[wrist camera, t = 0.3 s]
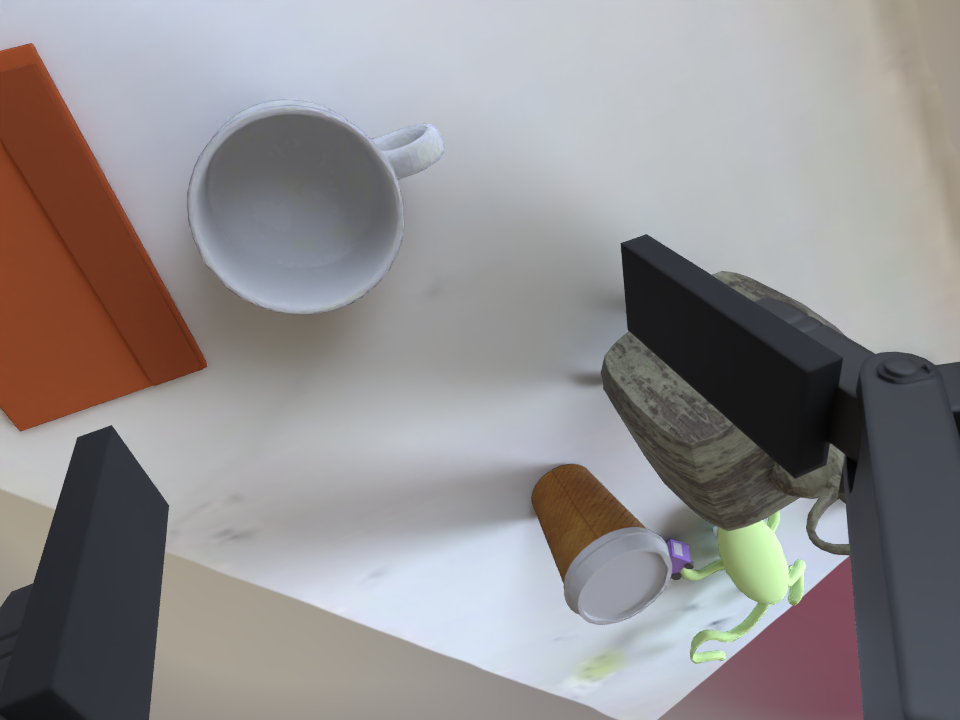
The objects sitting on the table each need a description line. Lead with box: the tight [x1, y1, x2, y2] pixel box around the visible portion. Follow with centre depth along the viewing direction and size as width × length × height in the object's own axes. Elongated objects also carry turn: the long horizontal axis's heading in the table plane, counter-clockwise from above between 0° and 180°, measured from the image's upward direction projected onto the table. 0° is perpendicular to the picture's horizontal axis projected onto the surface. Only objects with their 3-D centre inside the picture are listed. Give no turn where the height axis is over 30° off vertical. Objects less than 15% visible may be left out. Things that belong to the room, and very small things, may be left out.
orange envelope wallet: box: [0, 43, 207, 431], centre depth 36 cm, size 20×12×1 cm, turn 12°
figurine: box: [666, 511, 805, 664], centre depth 74 cm, size 18×27×6 cm
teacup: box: [187, 100, 444, 315], centre depth 36 cm, size 14×11×8 cm
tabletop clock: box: [601, 271, 850, 555], centre depth 44 cm, size 14×9×25 cm, turn 121°
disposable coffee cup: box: [532, 464, 672, 625], centre depth 56 cm, size 10×10×12 cm
